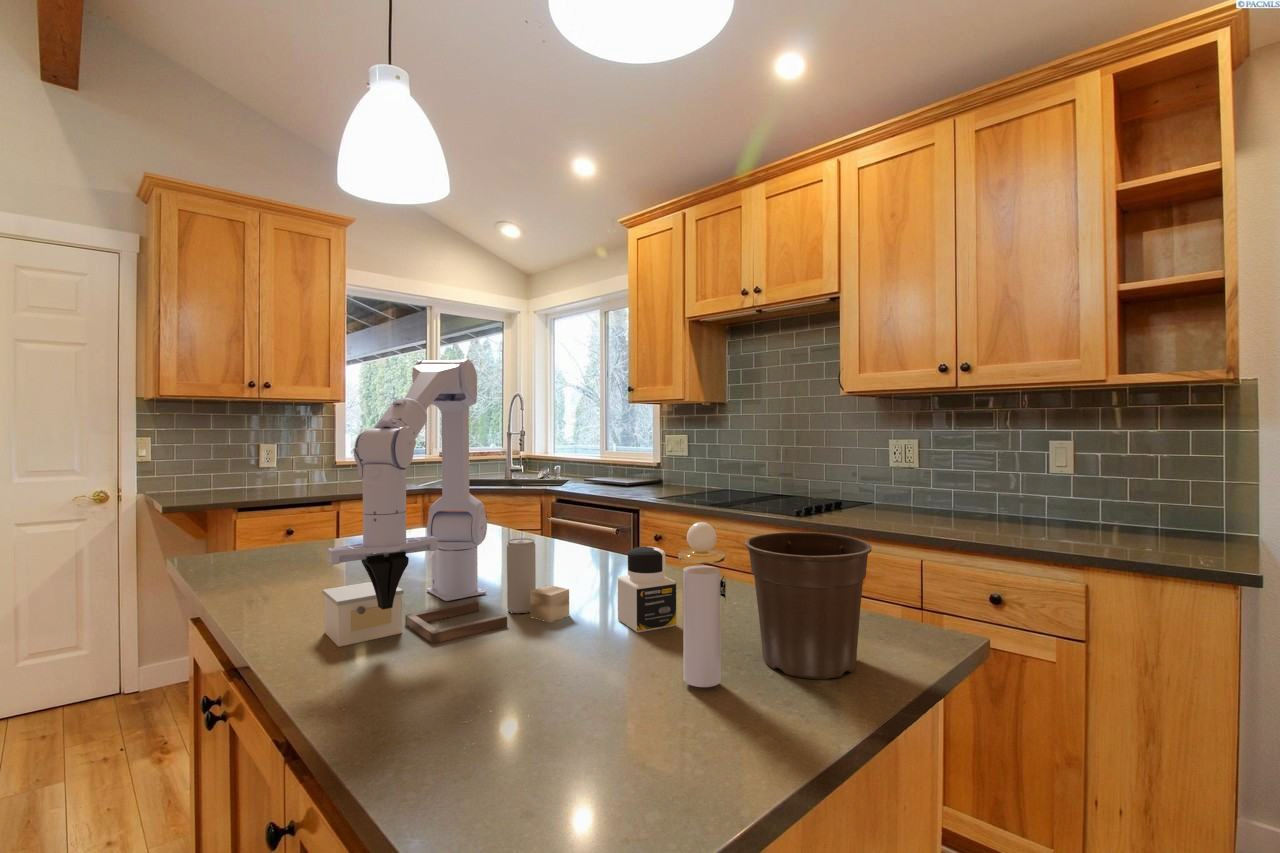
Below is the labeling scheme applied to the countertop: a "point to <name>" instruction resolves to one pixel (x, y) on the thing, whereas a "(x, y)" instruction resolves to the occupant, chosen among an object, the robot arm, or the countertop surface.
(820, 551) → the plant pot
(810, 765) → the countertop surface
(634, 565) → the medicine bottle
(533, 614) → the beech block
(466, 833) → the countertop surface
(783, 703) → the countertop surface
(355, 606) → the control box
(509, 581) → the beverage can
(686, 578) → the perfume bottle
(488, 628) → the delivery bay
